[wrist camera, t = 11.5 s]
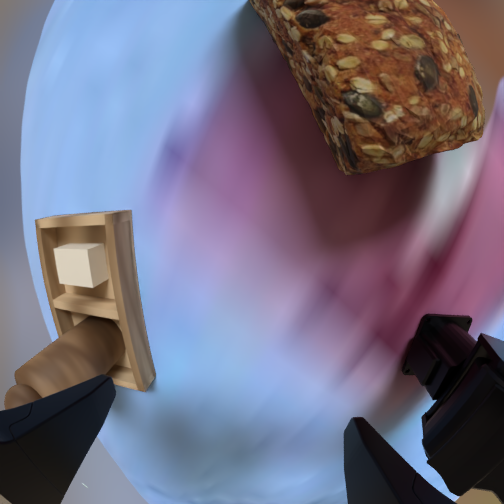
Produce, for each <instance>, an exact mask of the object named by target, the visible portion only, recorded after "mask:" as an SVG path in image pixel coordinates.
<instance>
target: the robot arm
mask: <svg viewBox="0 0 504 504" xmlns="http://www.w3.org/2000/svg"><path fill="white" fill-rule="evenodd" d="M428 318H429V320H428V321H426V320H427V319H428ZM467 321H468V322H467ZM471 323H472V318H471V317H470V316H461V315H441V314H426V315H425V316H424V317H423V319H422V321H421V324H420V327H419V330H418V332H417V335H416V337H415V339H414V342H413V344H412V347H411V349H410V351H409V354H408V356H407V358H406V361H405V364H404V366H403V368H402V372H403V374H404V375H416V377H417V378H418V380H419V382H420V383H421V385H422V386H425V387H426V389H427V391H428V393H429V394H430V396H431V398H432V400H437V401H436V402H435V403H434V404H433V406H432V407H431V408H430V409H429V410H428V411H427V412H426V413H425V414H424V415H423V416H422V427H423V439H422V445H423V448H424V450H425V454H426V456H427V458H428V460H427V464H429V465H430V466H431V467H433V468H434V469H435V470H436V471H437V472H438V473H439V474H440V476H441V477H442V479H443V480H444V482H445V484H446V486H447V488H448V489H449V491H450V492H451V493H453V494H455V495H457V496H462V495H463V494H464V493H466V492H467V491H469V490H470V489H471V488H472V489H478V490H485V491H491V492H493V493H494V494H495V496H496V497H497V498H498V499H499V501H500V502H501V503H502V504H504V341H502V340H499V339H496V338H494V337H491V336H488V335H486V334H483V333H480V335H479V337H478V341H476V340H475V339H474V338H473V337H472V336H471V335H469V334H468V331H469V328H470V326H471ZM407 369H408V370H407ZM115 395H116V390H115V386H114V382H113V379H112V377H110V376H108V375H105V374H101V375H98V376H96V377H93V378H91V379H89V380H86V381H84V382H81V383H79V384H77V385H74V386H72V387H69V388H67V389H64V390H62V391H59V392H57V393H54V394H51V395H49V396H46V397H44V398H41V399H38V400H36V401H34V402H30V403H27V404H24V405H21V406H18V407H15V408H11V409H7V410H3V411H0V504H61V502H62V500H63V498H64V495H65V493H66V492H67V490H68V488H69V486H70V484H71V482H72V480H73V478H74V476H75V474H76V473H77V471H78V469H79V467H80V465H81V463H82V462H83V460H84V458H85V456H86V454H87V453H88V451H89V449H90V447H91V445H92V444H93V442H94V440H95V438H96V437H97V435H98V433H99V431H100V430H101V428H102V426H103V424H104V422H105V419H106V417H107V415H108V412H109V410H110V408H111V405H112V403H113V401H114V398H115ZM344 473H345V481H346V490H347V499H348V504H457V503H455V502H454V501H452V500H451V499H449V498H448V497H447V496H445V495H444V494H442V493H441V492H440V491H438V490H437V489H436V488H434V487H433V486H432V485H431V484H429V483H428V482H427V481H426V480H425V479H424V478H423V477H422V476H421V475H420V474H419V473H418V472H416V471H415V470H414V469H413V468H412V467H411V466H410V465H409V464H408V463H407V462H406V461H405V460H404V459H403V458H402V457H401V456H400V455H399V454H398V453H397V452H396V451H395V450H394V449H393V448H392V447H391V446H390V445H389V444H388V443H387V442H386V441H385V440H384V438H383V437H382V436H381V435H380V434H379V433H378V432H377V431H376V430H375V429H374V428H373V427H372V426H371V425H370V424H369V423H368V422H367V421H366V420H365V419H364V418H363V417H353V418H351V420H350V422H349V423H348V425H347V427H346V429H345V431H344Z"/></svg>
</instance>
